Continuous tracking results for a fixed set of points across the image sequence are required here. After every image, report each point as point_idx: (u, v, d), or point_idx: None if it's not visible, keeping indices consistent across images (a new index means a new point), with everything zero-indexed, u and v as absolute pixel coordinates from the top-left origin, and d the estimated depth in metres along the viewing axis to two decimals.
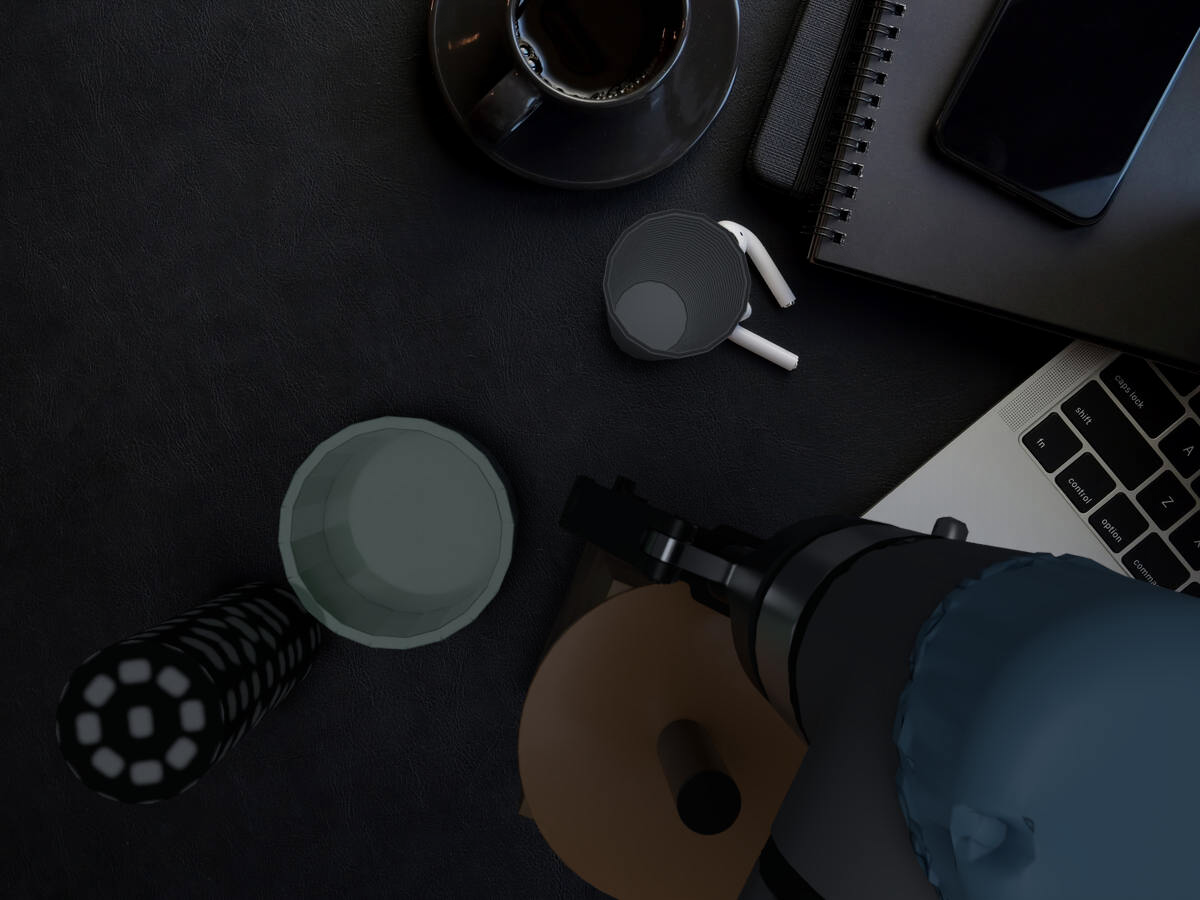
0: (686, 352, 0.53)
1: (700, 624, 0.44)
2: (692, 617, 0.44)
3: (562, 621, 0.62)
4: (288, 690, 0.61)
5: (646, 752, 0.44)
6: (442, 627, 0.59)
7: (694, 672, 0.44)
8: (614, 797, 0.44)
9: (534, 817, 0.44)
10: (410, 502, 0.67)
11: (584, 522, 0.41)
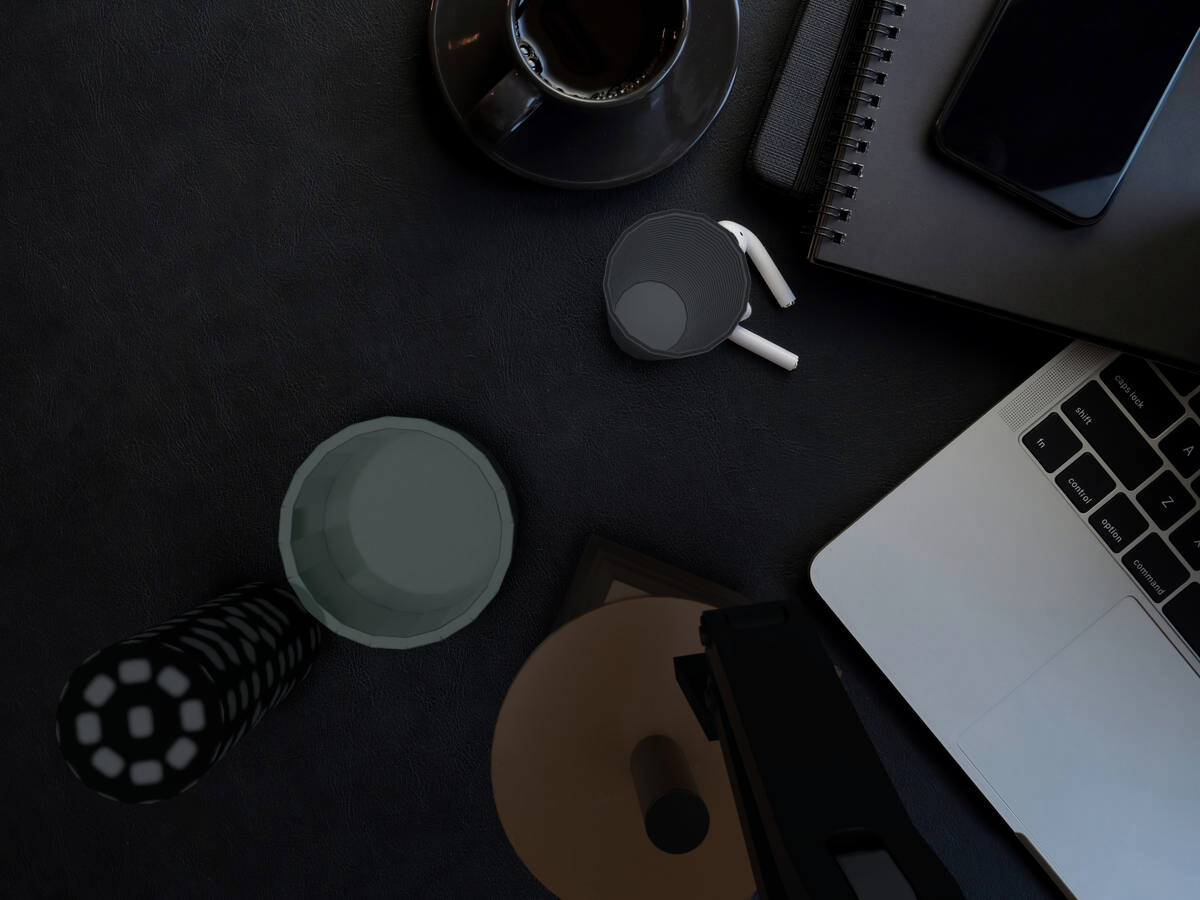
0: (686, 352, 0.53)
1: (683, 642, 0.44)
2: (675, 634, 0.44)
3: (562, 621, 0.62)
4: (288, 690, 0.61)
5: (619, 766, 0.44)
6: (442, 627, 0.59)
7: (673, 689, 0.44)
8: (583, 807, 0.44)
9: (502, 821, 0.43)
10: (410, 502, 0.67)
11: (752, 668, 0.21)
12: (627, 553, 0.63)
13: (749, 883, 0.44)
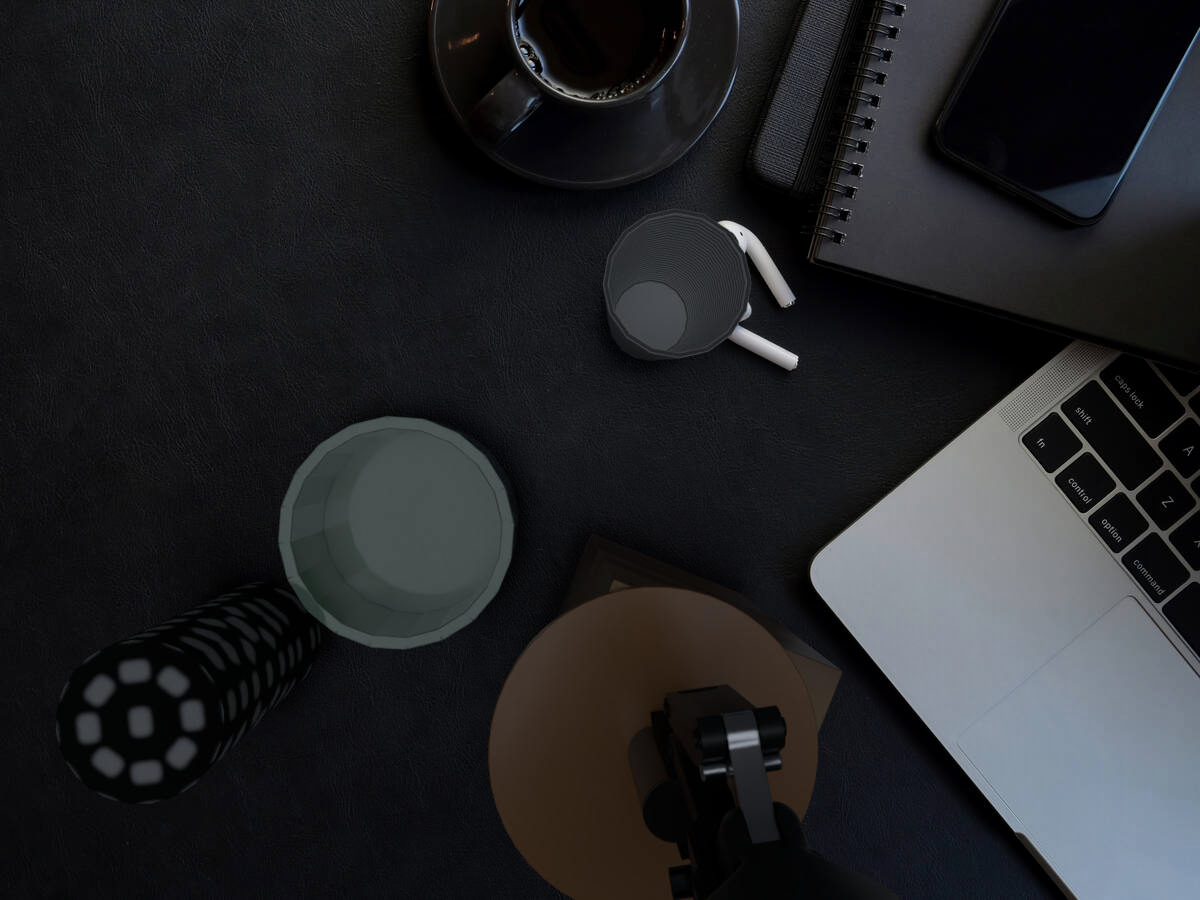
0: (686, 352, 0.53)
1: (681, 632, 0.44)
2: (673, 624, 0.44)
3: None
4: (288, 690, 0.61)
5: (617, 756, 0.44)
6: (442, 627, 0.59)
7: (671, 679, 0.44)
8: (581, 798, 0.44)
9: (500, 812, 0.43)
10: (410, 502, 0.67)
11: (689, 699, 0.33)
12: (627, 553, 0.63)
13: None
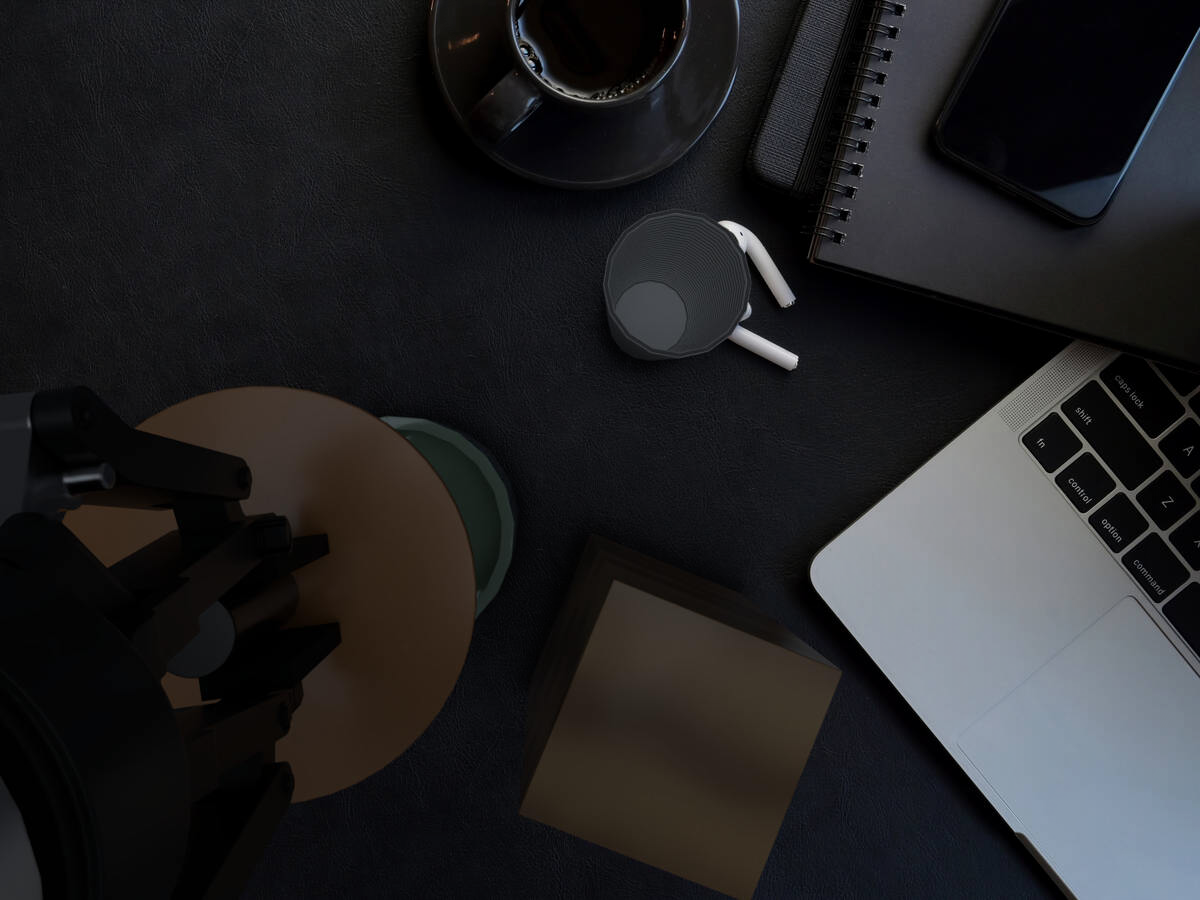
0: (686, 352, 0.53)
1: (298, 444, 0.35)
2: (288, 433, 0.35)
3: (562, 621, 0.62)
4: None
5: None
6: None
7: (285, 504, 0.35)
8: None
9: None
10: None
11: None
12: (627, 553, 0.63)
13: (383, 751, 0.35)
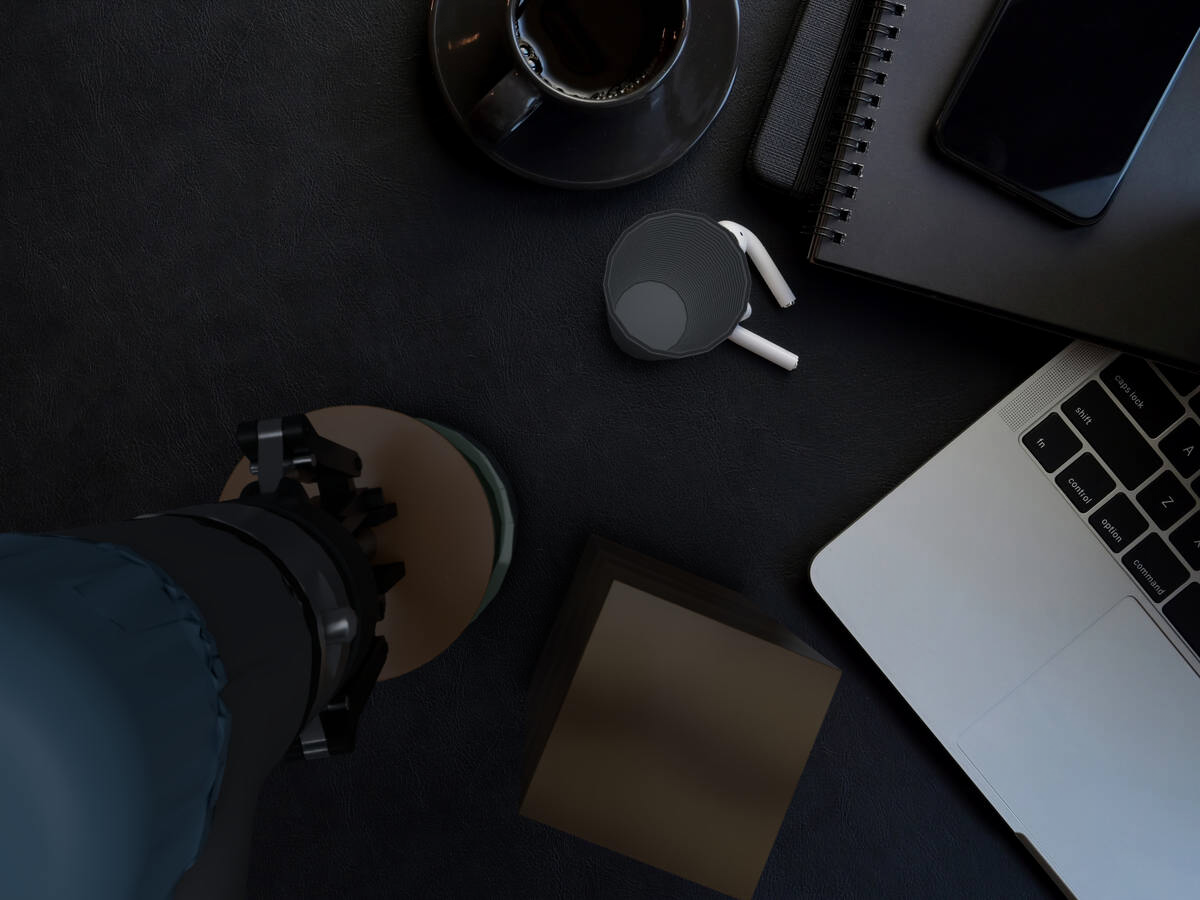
0: (686, 352, 0.53)
1: (376, 443, 0.52)
2: (369, 436, 0.52)
3: (562, 621, 0.62)
4: None
5: None
6: None
7: (367, 483, 0.52)
8: None
9: None
10: None
11: None
12: (627, 553, 0.63)
13: (433, 647, 0.52)
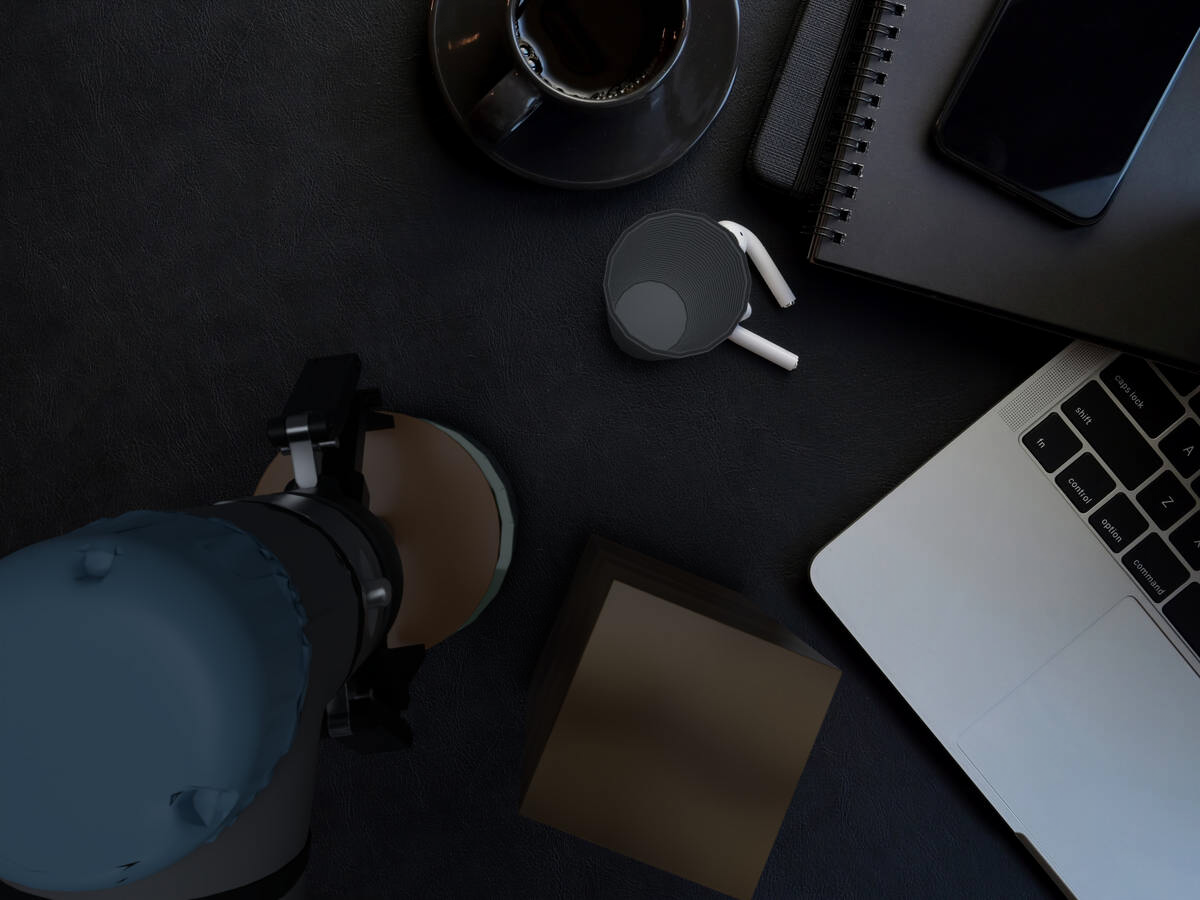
0: (686, 352, 0.53)
1: (393, 445, 0.58)
2: (388, 439, 0.58)
3: (562, 621, 0.62)
4: None
5: None
6: None
7: (386, 481, 0.58)
8: None
9: None
10: None
11: (312, 373, 0.45)
12: (627, 553, 0.63)
13: (445, 629, 0.58)
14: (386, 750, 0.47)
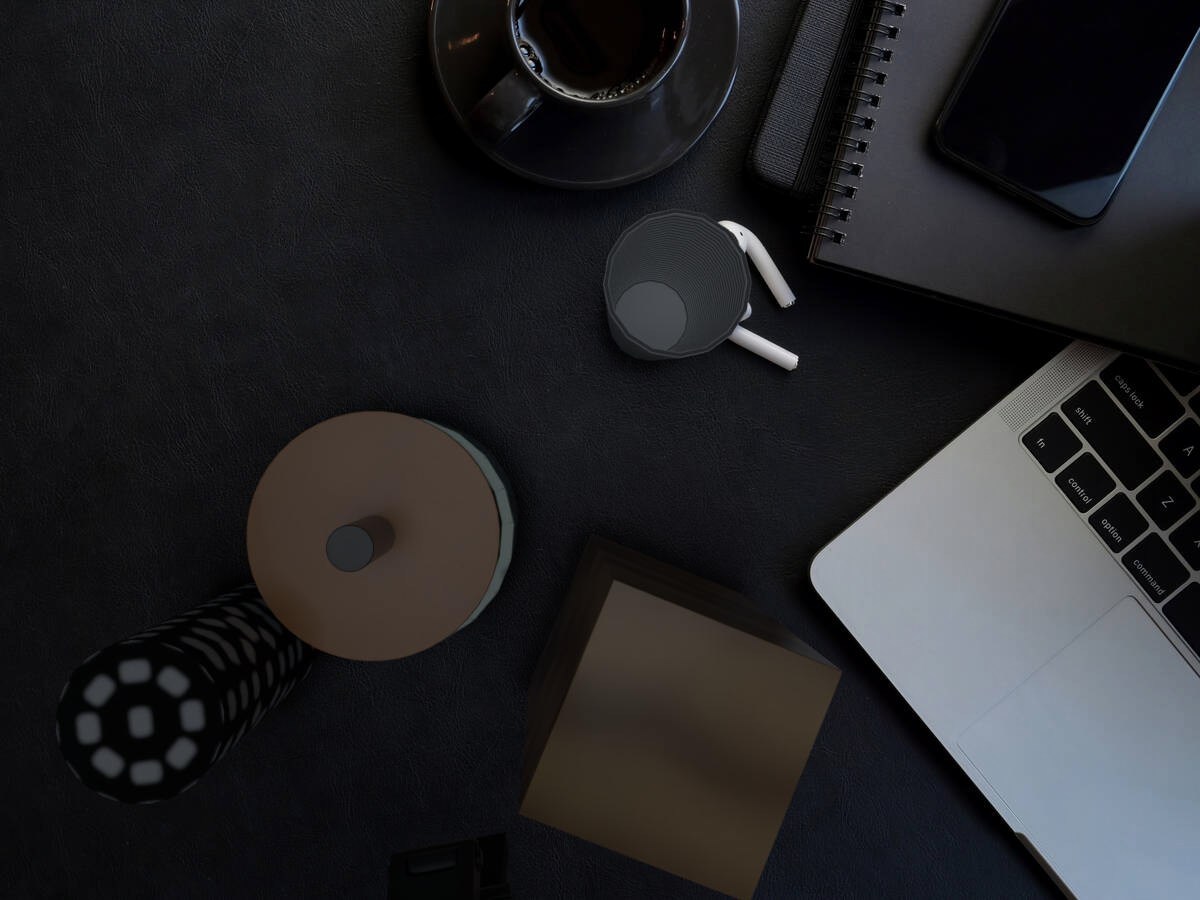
0: (686, 352, 0.53)
1: (393, 445, 0.58)
2: (388, 439, 0.58)
3: (562, 621, 0.62)
4: (288, 690, 0.61)
5: None
6: None
7: (386, 481, 0.58)
8: (317, 570, 0.58)
9: (255, 579, 0.58)
10: None
11: None
12: (627, 553, 0.63)
13: (445, 629, 0.58)
14: None
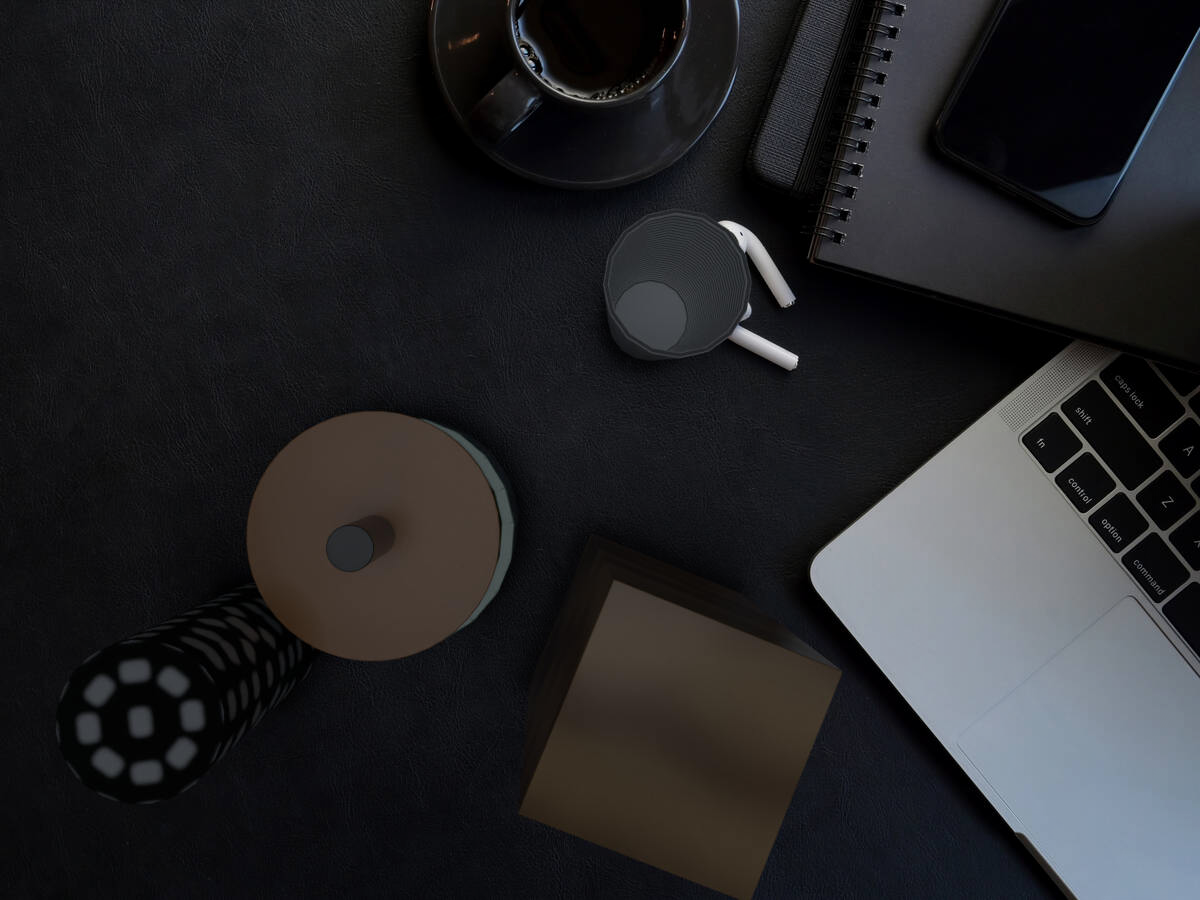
0: (686, 352, 0.53)
1: (393, 445, 0.58)
2: (388, 439, 0.58)
3: (562, 621, 0.62)
4: (288, 690, 0.61)
5: None
6: None
7: (386, 481, 0.58)
8: (317, 570, 0.58)
9: (255, 579, 0.58)
10: None
11: None
12: (627, 553, 0.63)
13: (445, 629, 0.58)
14: None
